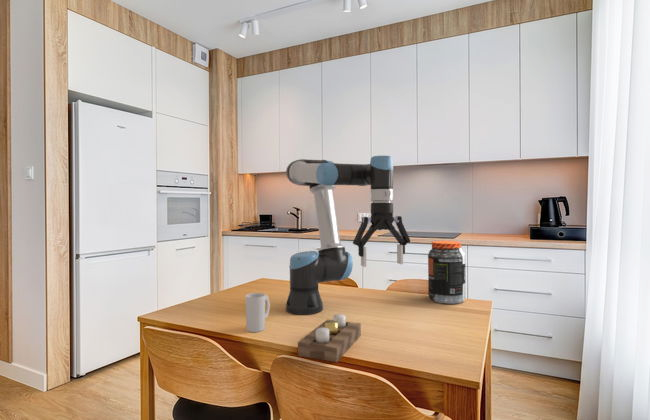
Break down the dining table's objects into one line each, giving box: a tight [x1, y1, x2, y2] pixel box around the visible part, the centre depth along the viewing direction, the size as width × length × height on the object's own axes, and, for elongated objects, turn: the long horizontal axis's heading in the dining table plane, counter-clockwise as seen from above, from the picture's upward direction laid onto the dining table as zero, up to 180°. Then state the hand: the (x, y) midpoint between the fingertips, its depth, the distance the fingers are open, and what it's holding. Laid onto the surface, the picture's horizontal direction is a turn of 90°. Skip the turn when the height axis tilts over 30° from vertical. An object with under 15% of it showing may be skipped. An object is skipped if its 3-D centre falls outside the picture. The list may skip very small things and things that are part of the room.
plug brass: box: [324, 320, 338, 336], centre depth 118 cm, size 4×4×4 cm
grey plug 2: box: [332, 313, 347, 328], centre depth 124 cm, size 4×4×4 cm
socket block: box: [297, 318, 362, 363], centre depth 118 cm, size 22×12×4 cm, turn 157°
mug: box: [245, 292, 271, 333], centre depth 134 cm, size 10×7×12 cm, turn 142°
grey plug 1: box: [315, 327, 329, 344], centre depth 111 cm, size 4×4×4 cm
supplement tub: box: [427, 240, 467, 305], centre depth 168 cm, size 16×16×26 cm
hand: (382, 265), depth 128 cm, fingers open, 13 cm apart
